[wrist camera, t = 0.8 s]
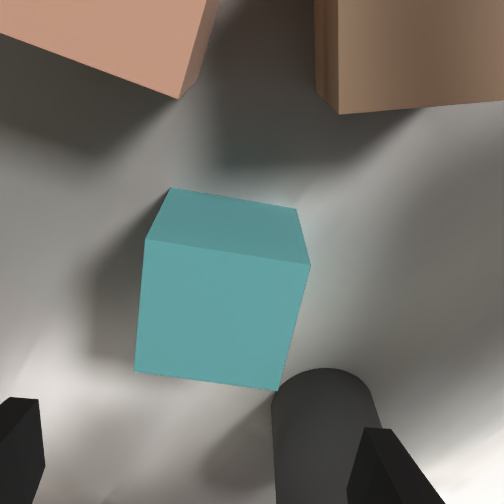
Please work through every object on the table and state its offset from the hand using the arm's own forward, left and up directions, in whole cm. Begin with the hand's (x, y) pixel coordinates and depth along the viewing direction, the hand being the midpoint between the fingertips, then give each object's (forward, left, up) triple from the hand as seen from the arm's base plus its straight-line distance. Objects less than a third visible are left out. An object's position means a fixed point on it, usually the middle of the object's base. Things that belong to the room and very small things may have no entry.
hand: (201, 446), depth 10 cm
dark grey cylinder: (-6, +8, -10) cm, 14 cm away
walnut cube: (-4, -10, -10) cm, 15 cm away
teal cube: (0, 0, -10) cm, 10 cm away
